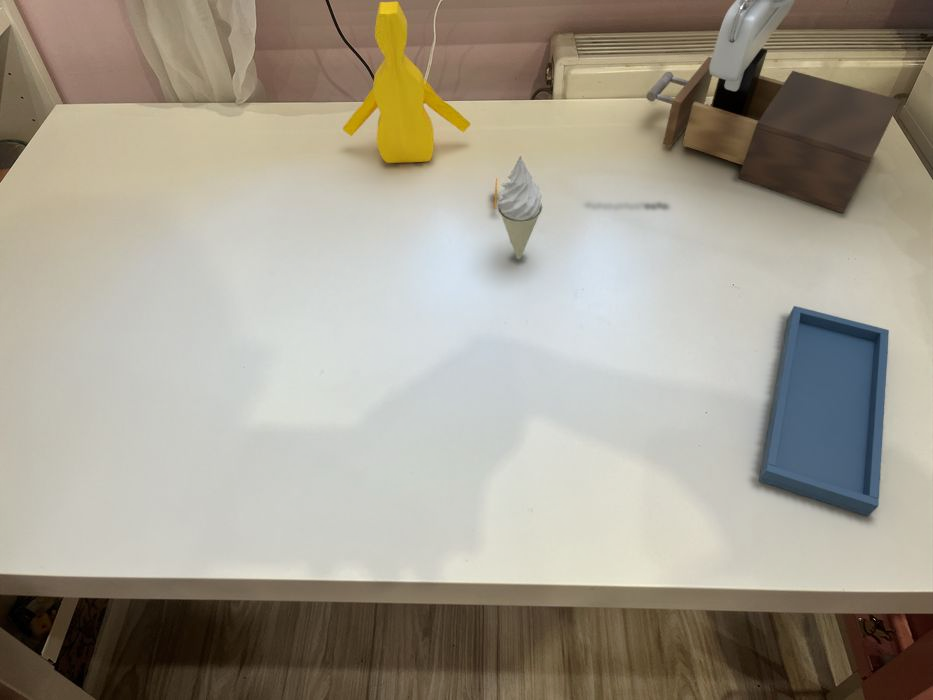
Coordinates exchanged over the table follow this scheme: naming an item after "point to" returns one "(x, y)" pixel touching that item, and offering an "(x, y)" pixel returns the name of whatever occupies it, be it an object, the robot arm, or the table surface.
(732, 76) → the robot arm
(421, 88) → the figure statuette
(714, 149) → the drawer
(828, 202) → the small wooden cabinet
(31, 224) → the table surface
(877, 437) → the tray
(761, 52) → the block
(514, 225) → the ice cream cone
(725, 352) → the table surface
